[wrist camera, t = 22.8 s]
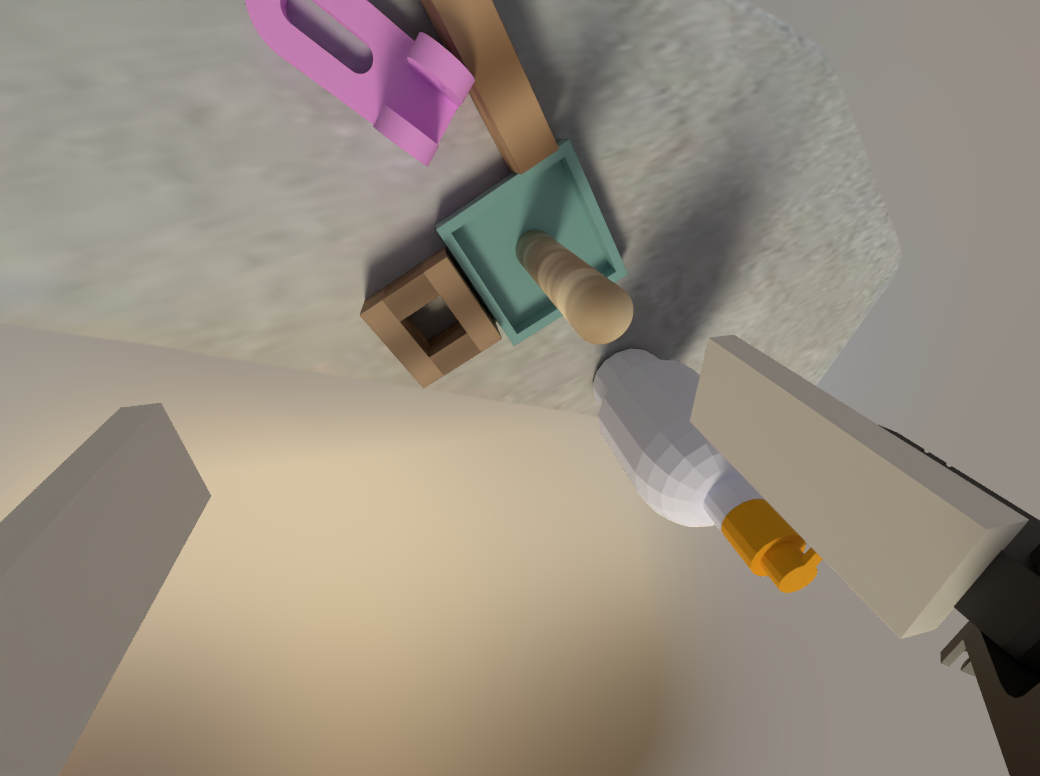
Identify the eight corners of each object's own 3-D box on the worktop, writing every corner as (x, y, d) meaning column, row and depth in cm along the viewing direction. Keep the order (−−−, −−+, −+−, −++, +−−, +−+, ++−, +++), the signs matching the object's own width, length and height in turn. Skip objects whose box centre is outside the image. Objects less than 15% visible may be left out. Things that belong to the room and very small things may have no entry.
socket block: (364, 300, 36) (359, 315, 33) (444, 247, 35) (446, 257, 32) (423, 370, 40) (423, 388, 37) (495, 323, 39) (502, 338, 36)
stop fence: (412, -14, 27) (411, -40, 23) (452, -44, 27) (458, -75, 23) (509, 170, 33) (521, 174, 29) (542, 148, 33) (559, 149, 29)
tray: (435, 224, 34) (436, 229, 32) (560, 139, 33) (569, 139, 31) (509, 336, 40) (514, 346, 38) (618, 267, 39) (628, 274, 37)
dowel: (515, 269, 36) (573, 346, 23) (515, 230, 35) (576, 287, 21) (552, 267, 37) (629, 341, 23) (553, 228, 35) (637, 283, 22)
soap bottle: (688, 348, 45) (917, 524, 24) (642, 427, 49) (804, 636, 28) (604, 321, 41) (789, 500, 21) (562, 409, 45) (681, 632, 25)
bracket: (466, 89, 30) (478, 77, 24) (426, 162, 32) (428, 167, 26) (274, -76, 25) (227, -144, 19) (237, 24, 26) (184, -10, 20)
